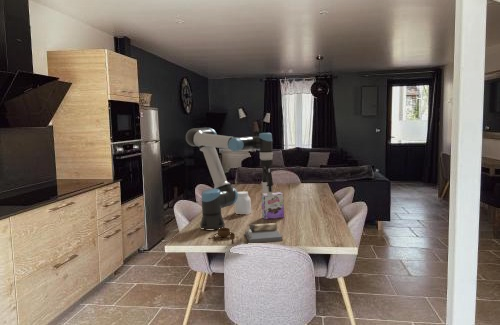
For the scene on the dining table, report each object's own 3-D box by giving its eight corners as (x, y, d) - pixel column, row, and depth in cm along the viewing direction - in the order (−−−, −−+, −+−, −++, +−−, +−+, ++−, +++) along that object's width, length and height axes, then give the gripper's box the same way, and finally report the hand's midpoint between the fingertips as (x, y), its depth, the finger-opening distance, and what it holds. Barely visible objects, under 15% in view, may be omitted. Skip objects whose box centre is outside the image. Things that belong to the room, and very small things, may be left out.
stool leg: (250, 231, 213) (249, 225, 213) (249, 229, 217) (249, 224, 216) (276, 229, 215) (276, 223, 215) (275, 227, 219) (275, 222, 218)
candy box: (264, 219, 247) (263, 195, 245) (261, 217, 253) (261, 193, 251) (284, 217, 250) (283, 193, 249) (281, 215, 256) (280, 191, 254)
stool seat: (249, 242, 200) (248, 233, 200) (245, 233, 217) (244, 225, 216) (282, 240, 203) (281, 231, 202) (275, 231, 219) (275, 223, 219)
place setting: (241, 234, 217) (240, 224, 217) (236, 246, 198) (235, 235, 197) (211, 234, 219) (211, 224, 219) (203, 245, 200) (203, 235, 199)
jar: (251, 211, 271) (250, 191, 269) (250, 214, 262) (249, 193, 260) (235, 211, 272) (235, 191, 270) (234, 215, 262) (233, 194, 261)
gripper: (277, 161, 208) (278, 198, 210) (268, 157, 233) (269, 190, 235) (264, 161, 207) (265, 199, 209) (256, 157, 231) (257, 191, 234)
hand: (267, 195), depth 222 cm, fingers open, 13 cm apart
